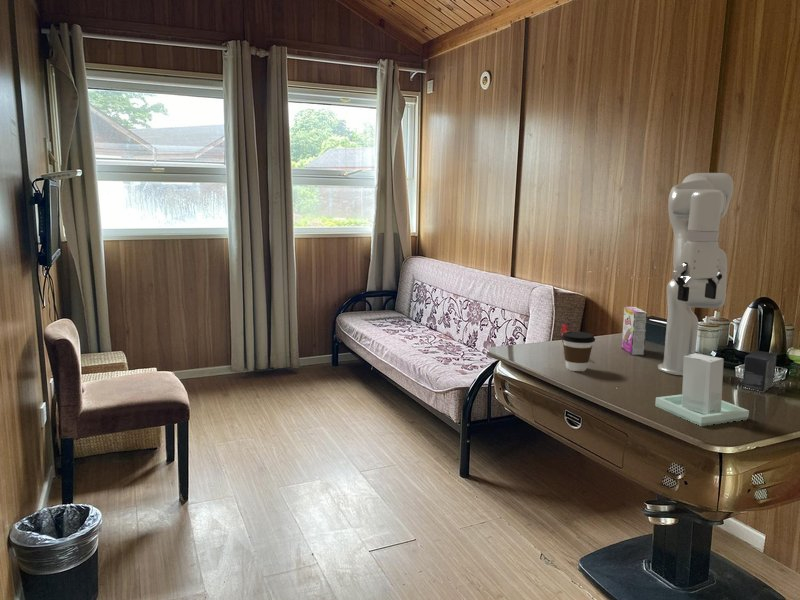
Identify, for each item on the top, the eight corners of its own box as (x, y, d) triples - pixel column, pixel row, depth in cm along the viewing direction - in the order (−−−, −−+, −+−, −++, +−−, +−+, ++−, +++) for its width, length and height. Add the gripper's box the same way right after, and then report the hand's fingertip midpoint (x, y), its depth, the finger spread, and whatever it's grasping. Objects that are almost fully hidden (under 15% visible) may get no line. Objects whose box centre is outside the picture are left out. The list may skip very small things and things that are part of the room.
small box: (751, 381, 192) (754, 349, 190) (774, 385, 188) (778, 353, 186) (740, 388, 185) (744, 355, 183) (764, 393, 180) (768, 359, 178)
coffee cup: (552, 367, 205) (554, 333, 203) (573, 363, 211) (575, 329, 209) (578, 375, 196) (581, 339, 194) (599, 370, 202) (602, 335, 200)
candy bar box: (620, 347, 233) (623, 306, 231) (633, 348, 233) (636, 306, 231) (630, 355, 222) (634, 311, 220) (644, 355, 222) (648, 312, 220)
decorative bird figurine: (564, 347, 232) (565, 322, 231) (583, 360, 215) (585, 332, 213) (556, 348, 232) (558, 322, 230) (576, 360, 215) (577, 333, 213)
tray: (699, 400, 173) (700, 392, 172) (748, 419, 158) (749, 410, 158) (655, 406, 168) (655, 397, 167) (700, 426, 153) (701, 417, 152)
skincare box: (721, 412, 161) (726, 358, 158) (707, 416, 158) (712, 361, 155) (692, 403, 168) (697, 351, 165) (678, 406, 165) (683, 354, 162)
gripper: (715, 234, 168) (709, 294, 172) (666, 237, 162) (661, 299, 166) (738, 237, 161) (731, 299, 165) (688, 239, 155) (682, 304, 159)
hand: (696, 299), depth 165 cm, fingers open, 9 cm apart
